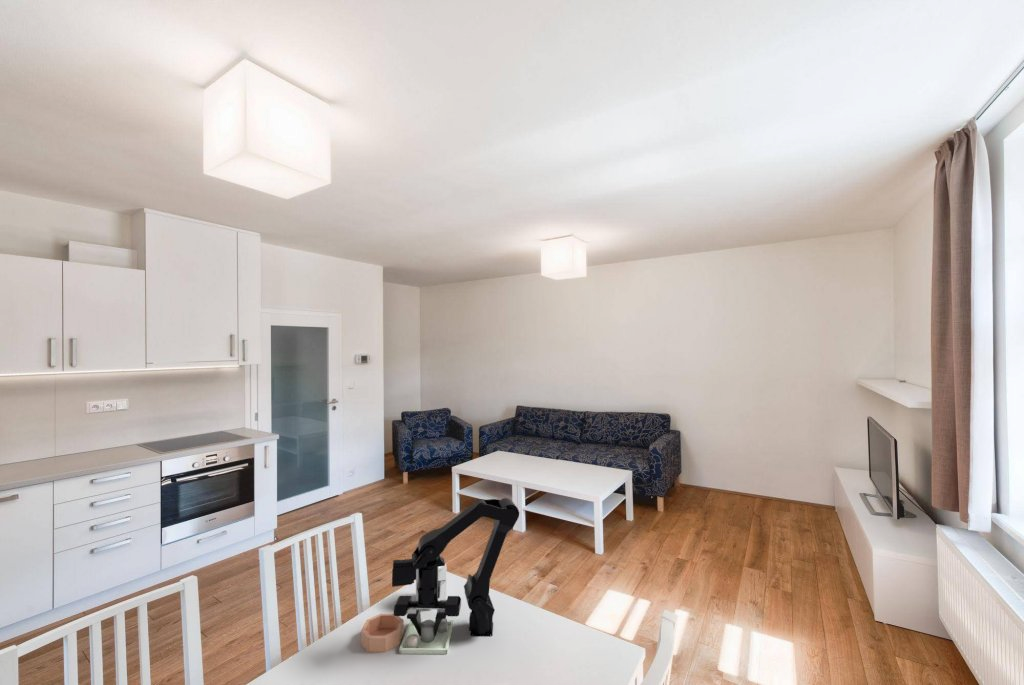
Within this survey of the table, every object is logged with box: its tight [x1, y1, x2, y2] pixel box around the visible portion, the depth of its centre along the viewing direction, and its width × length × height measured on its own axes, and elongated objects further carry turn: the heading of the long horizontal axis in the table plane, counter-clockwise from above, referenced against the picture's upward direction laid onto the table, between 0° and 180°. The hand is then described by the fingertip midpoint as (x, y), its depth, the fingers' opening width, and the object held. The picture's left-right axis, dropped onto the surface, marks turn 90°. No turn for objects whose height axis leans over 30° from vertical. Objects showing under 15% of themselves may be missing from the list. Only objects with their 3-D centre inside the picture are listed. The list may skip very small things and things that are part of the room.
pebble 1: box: [407, 634, 418, 648], centre depth 120 cm, size 3×3×3 cm
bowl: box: [360, 613, 405, 653], centre depth 124 cm, size 11×11×4 cm
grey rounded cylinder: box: [421, 619, 435, 643], centre depth 124 cm, size 4×4×4 cm
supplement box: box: [415, 563, 448, 611], centre depth 142 cm, size 7×7×13 cm
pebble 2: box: [437, 617, 448, 633], centre depth 128 cm, size 3×3×3 cm
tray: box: [398, 619, 454, 655], centre depth 124 cm, size 13×13×2 cm
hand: (427, 635), depth 124 cm, fingers closed on grey rounded cylinder, 4 cm apart
